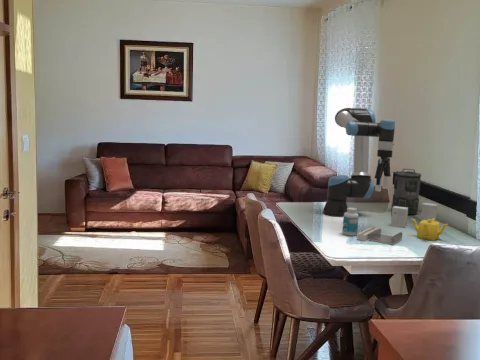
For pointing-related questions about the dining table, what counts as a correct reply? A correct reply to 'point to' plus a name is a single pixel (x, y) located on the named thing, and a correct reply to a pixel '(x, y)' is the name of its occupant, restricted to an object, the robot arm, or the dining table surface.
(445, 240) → the dining table surface
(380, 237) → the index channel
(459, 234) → the dining table surface
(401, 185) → the canister
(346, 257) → the dining table surface
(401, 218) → the small box
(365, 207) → the dining table surface
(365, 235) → the door edge
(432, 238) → the teapot
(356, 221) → the pill bottle
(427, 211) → the cup
